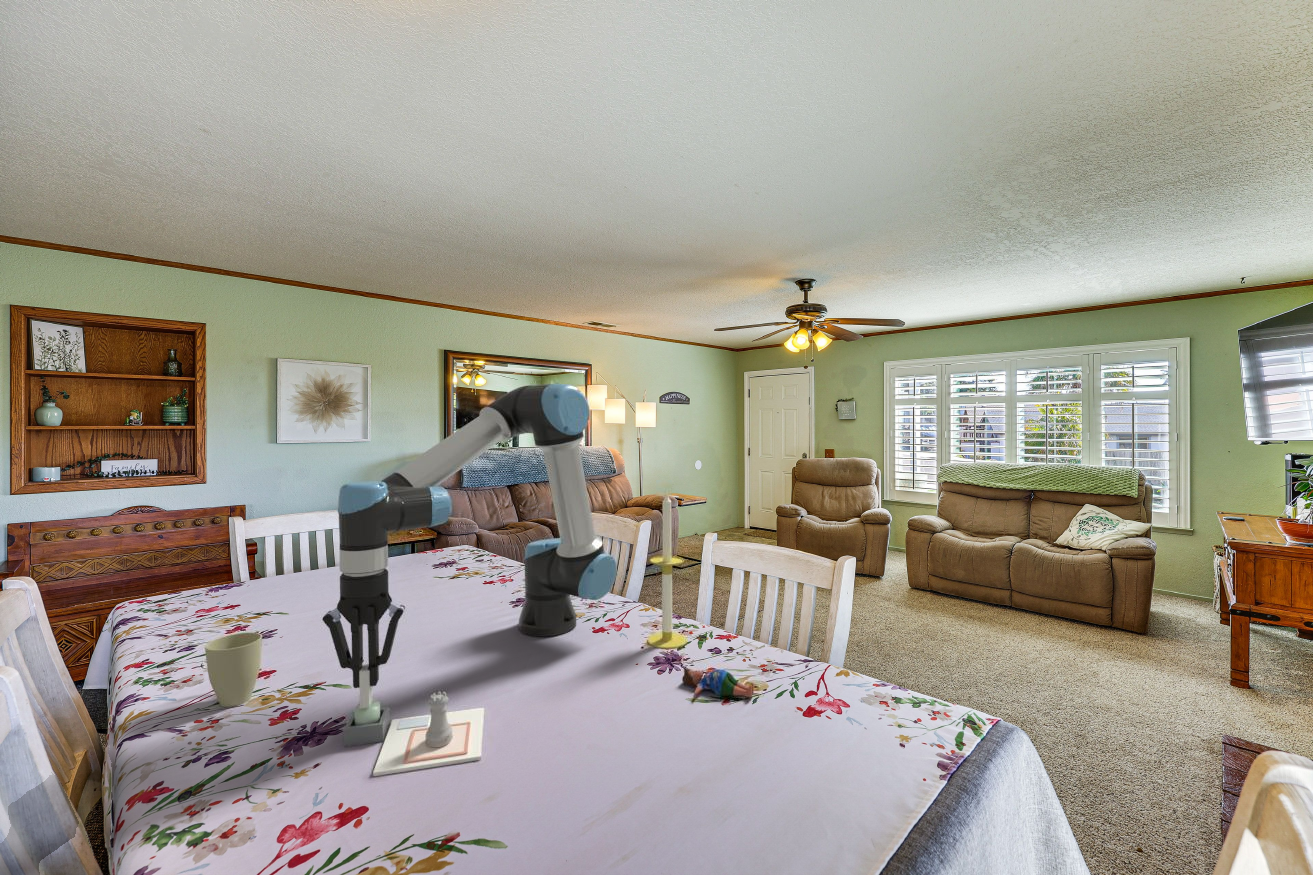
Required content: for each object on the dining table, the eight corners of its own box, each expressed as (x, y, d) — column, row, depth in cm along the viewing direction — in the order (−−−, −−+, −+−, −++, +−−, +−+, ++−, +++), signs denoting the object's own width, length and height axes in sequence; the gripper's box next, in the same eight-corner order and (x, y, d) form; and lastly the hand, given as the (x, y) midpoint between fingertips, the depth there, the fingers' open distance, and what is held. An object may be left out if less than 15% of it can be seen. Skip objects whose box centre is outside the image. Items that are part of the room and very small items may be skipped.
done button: (382, 718, 102) (382, 699, 101) (377, 730, 98) (377, 710, 98) (357, 721, 101) (357, 702, 100) (352, 733, 97) (351, 713, 97)
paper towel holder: (695, 640, 141) (695, 490, 140) (668, 652, 134) (668, 495, 132) (665, 629, 148) (665, 487, 146) (638, 641, 140) (638, 491, 139)
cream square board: (484, 710, 107) (484, 705, 107) (480, 759, 92) (480, 754, 92) (392, 722, 103) (392, 717, 103) (373, 776, 88) (373, 770, 88)
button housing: (389, 723, 103) (389, 706, 103) (382, 741, 97) (382, 724, 97) (353, 727, 101) (353, 711, 101) (344, 746, 96) (343, 729, 95)
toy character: (743, 690, 106) (670, 675, 112) (743, 715, 106) (670, 698, 113) (760, 664, 117) (693, 651, 124) (760, 686, 118) (693, 672, 124)
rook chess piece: (429, 734, 98) (428, 689, 97) (456, 733, 98) (455, 687, 98) (421, 749, 93) (420, 702, 93) (449, 748, 94) (448, 700, 93)
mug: (278, 691, 115) (277, 633, 114) (227, 715, 106) (226, 652, 105) (241, 683, 118) (239, 627, 118) (188, 706, 109) (186, 645, 109)
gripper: (408, 562, 104) (409, 689, 104) (329, 567, 100) (331, 698, 101) (401, 573, 96) (402, 709, 97) (315, 579, 93) (318, 720, 94)
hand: (366, 703), depth 99 cm, fingers closed
